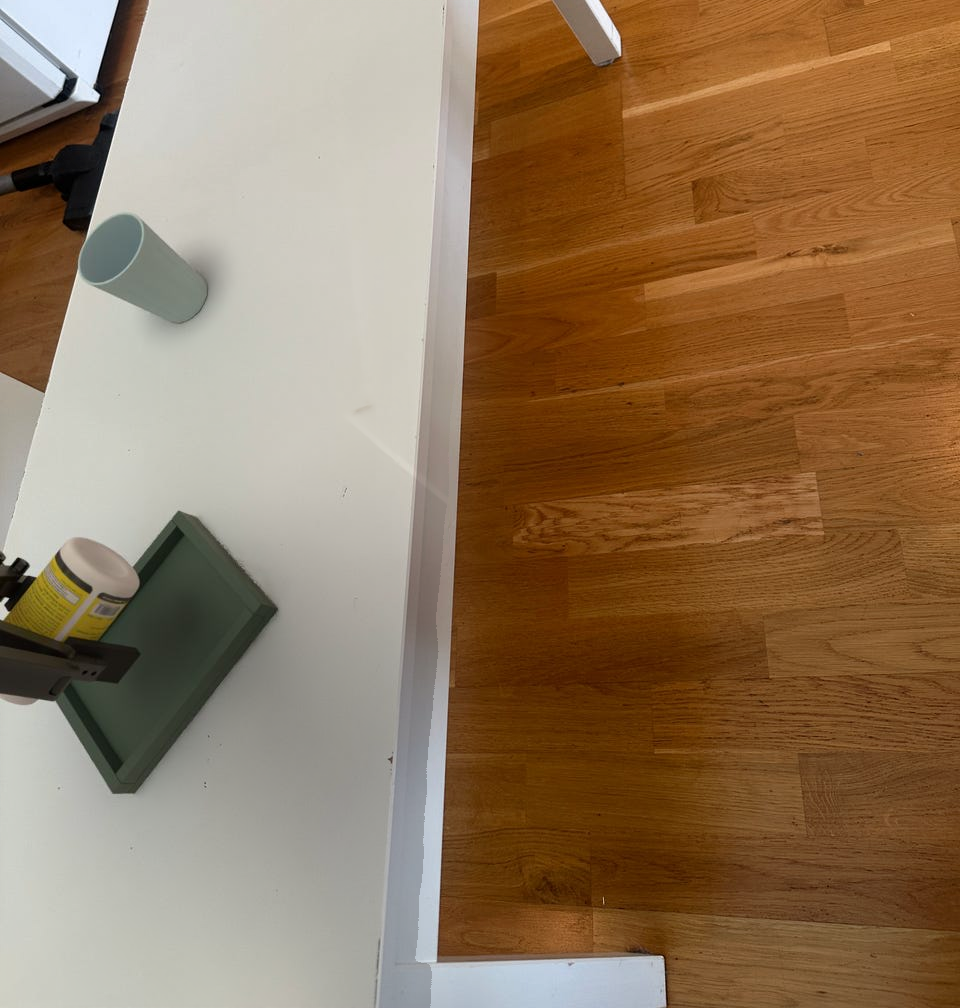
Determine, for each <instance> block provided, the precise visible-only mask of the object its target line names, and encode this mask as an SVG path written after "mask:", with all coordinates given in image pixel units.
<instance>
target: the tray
mask: <svg viewBox="0 0 960 1008" xmlns="http://www.w3.org/2000/svg"><path fill="white" fill-rule="evenodd" d="M132 567H133V569H134V570H135V571H136V573H137V575H138V578H139V587H138V589H137V591H136V592H135V594H134V595H133V596H132V598H131V599H130V600H129V601H128V603H127V604H126V605H125V606H124V608H123V609H122V610H121V611H120V613H119V614H118V615H117V617H116V618H115V619H114V620H113V622H112V623H111V624H110V625H109V627H108V628H107V629H106V631H105V632H104V633H103V634H102V636H101V637H100V638H99V639H98V641H100V642H106V643H112V644H118V645H123V646H129V647H135V648H137V649H138V651H139V652H140V654H141V655H140V656H139V657H138V659H137V660H136V661H135V662H134V664H133V665H132V666H131V667H130V669H129V670H128V671H127V673H126V674H125V675H124V676H123V678H122V679H121V680H120V681H119V683H118V684H116V683H108V682H99V681H93V682H86V681H77V680H72V681H71V682H70V683H69V685H68V686H67V687H66V688H65V690H64V691H63V692H62V693H61V695H60V696H59V697H58V698H57V700H56V701H55V703H56V704H57V706H58V707H59V709H60V711H61V713H62V714H63V716H64V718H65V719H66V721H67V723H68V724H69V726H70V727H71V729H72V731H73V732H74V734H75V736H76V737H77V739H78V740H79V742H80V744H81V745H82V747H83V748H84V750H85V752H86V754H87V755H88V756H89V758H90V760H91V761H92V763H93V765H94V766H95V768H96V769H97V771H98V773H99V774H100V776H101V777H102V779H103V781H104V783H105V784H106V786H107V787H108V789H109V790H110V792H111V794H113V795H134V794H135V793H136V792H137V791H138V789H139V788H140V787H141V786H142V785H143V783H144V782H145V780H146V779H147V778H148V777H149V775H150V774H151V773H152V771H153V770H154V769H155V768H156V767H157V765H158V764H159V762H160V761H161V760H162V758H163V757H164V756H165V755H166V753H167V752H168V751H169V749H170V748H171V747H172V746H173V744H175V742H176V741H177V739H178V738H179V737H180V735H181V734H182V733H183V732H184V730H185V729H186V728H187V727H188V725H189V724H190V722H191V721H193V719H194V717H195V716H196V715H197V713H198V712H199V711H200V710H201V709H202V707H203V706H204V705H205V704H206V702H207V701H208V700H209V698H210V697H211V696H212V694H213V693H214V692H215V691H216V689H217V688H218V687H219V686H220V684H221V683H222V681H223V680H224V679H225V678H226V677H227V675H228V674H229V673H230V672H231V670H232V669H233V667H235V665H236V663H237V662H238V661H239V660H240V658H241V657H242V656H243V655H244V653H246V651H247V650H248V649H249V647H250V646H251V644H252V643H253V642H254V641H255V639H256V638H257V637H258V636H259V634H260V633H261V632H262V631H263V629H264V628H265V626H266V625H267V624H268V622H269V621H270V620H271V619H272V617H273V616H274V615H275V613H277V612H278V610H279V608H278V607H277V606H276V604H274V602H273V601H272V600H271V599H270V598H269V597H268V596H267V594H266V593H265V592H263V590H262V589H261V588H260V587H259V585H257V583H256V582H255V581H254V580H253V579H252V578H251V577H250V575H249V574H248V573H247V572H246V571H245V569H243V568H242V566H240V564H239V563H238V562H237V561H236V560H235V559H234V557H232V556H231V554H230V553H229V552H228V551H227V550H226V549H225V547H224V546H223V545H221V543H220V542H219V541H218V540H217V539H216V537H215V536H214V535H213V534H212V533H211V532H210V531H209V530H208V529H207V527H206V526H205V525H204V524H203V523H202V521H200V519H198V518H197V517H196V516H195V515H193V514H190V513H187V512H184V511H181V510H180V509H179V510H177V511H176V512H175V514H174V515H173V516H172V517H171V519H170V520H169V521H168V523H167V524H166V525H165V526H164V527H163V528H162V530H161V531H160V532H159V534H158V535H157V536H156V537H155V539H154V540H153V541H152V542H151V543H150V545H149V546H148V547H147V548H146V550H144V552H143V554H142V555H141V556H140V557H139V558H138V560H137V561H136V563H134V565H133V566H132Z"/></svg>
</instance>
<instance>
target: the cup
mask: <svg viewBox="0 0 960 1008" xmlns="http://www.w3.org/2000/svg"><path fill="white" fill-rule="evenodd" d="M77 259H78V260H77V270H78V274H79V276H80V278H81V279H82V281H83V282H84V283H86V284H87V285H90V286H91V287H94V288H95V289H98V290H101V291H102V292H105V293H106V294H109V295H111V296H114V297H116V298H117V299H120V300H122V301H124V302H127V303H129V304H131V305H133V306H135V307H137V308H139V309H142V310H143V311H146V312H148V313H150V314H152V315H155V316H156V317H159V318H161V319H163V320H166V321H168V322H170V323H173V324H174V323H175V324H180V323H181V324H182V323H185V322H187V321H189V320H190V319H192V318H193V317H195V316H196V315H197V314H198V313H199V312H200V310H201V309H202V307H203V306H204V304H205V302H206V299H207V296H208V285H207V283H206V280H205V278H203V277H202V275H200V274H199V272H197V271H196V270H195V269H194V268H193V267H192V266H191V265H190V264H189V263H188V262H186V260H185V259H183V257H181V256H180V254H178V253H177V252H176V251H175V250H174V249H173V248H172V247H171V246H170V245H169V244H168V243H167V242H166V241H165V240H163V238H161V237H160V235H158V233H156V231H154V230H153V229H152V228H151V227H150V226H149V225H148V224H147V223H146V222H145V221H144V220H143V219H142V218H140V216H138V215H137V214H136V213H133V212H129V211H127V212H126V211H124V212H118V213H115V214H112V215H110V216H109V217H107V218H105V219H104V220H102V221H101V222H100V223H99V224H98V225H97V226H96V227H95V228H93V230H91V232H90V233H89V235H88V236H87V238H85V240H84V243H83V244H82V247H81V248H80V251H79V255H78V258H77Z"/></svg>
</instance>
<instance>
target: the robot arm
mask: <svg viewBox="0 0 960 1008" xmlns="http://www.w3.org/2000/svg"><path fill="white" fill-rule="evenodd" d="M6 560H7V556H6V555H5V553H3V552H2V551H1V550H0V603H2V602H3V601H4V600H5V598H6V599H7V601H5V603H3V607H4V608H5V610H6V611H7V612H8V613H9V612H10V611H11V610H12V609H13V607H14V606H15V605H16V604H17V602H18V601H19V600H20V599H21V597H22V596H23V595H24V594H25V592H26V591H27V590H28V589H29V587H30V586H31V585H32V584H33V582H34V581H35V580H36V578H37V577H38V576H32V575H26V572H27V571H28V570H29V569H30V567H31V564H30V563H29V562H28V561H27V560H26V559H25V558H22V557H20V556H19V557H16V558H15V559H14V560H13V562H12V563H11V564H10V565H6V564H5V563H4V562H5V561H6ZM3 620H4V619H0V694H6V695H13V696H20V697H26V698H33V699H38V700H40V701H48V702H56V700H57V698H58V697H59V696H60V695H61V693H62V692H63V691H64V690H65V688H66V687H67V686H68V685H69V683H70V682H71V681H72V680H77V681H86V682H93V681H99V682H108V683H116V684H118V683H119V681H120V680H121V679H122V678H123V676H124V675H125V674H126V673H127V671H128V670H129V669H130V667H131V666H132V665H133V664H134V662H135V661H136V660H137V659H138V657H139V656H140V655H141V654H140V652H139V651H138V649H137V648H135V647H129V646H123V645H118V644H112V643H106V642H100V641H94V640H88V639H83V638H77V637H71V636H68V638H67V639H66V640H65V641H64V643H63V642H60V641H57V640H55V639H52V638H49V637H46V636H44V635H41V634H38V633H36V632H33V631H30V630H27V629H25V628H22V627H19V626H17V625H14V624H11V623H8V622H6V621H3Z"/></svg>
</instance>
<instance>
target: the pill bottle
mask: <svg viewBox="0 0 960 1008" xmlns="http://www.w3.org/2000/svg"><path fill="white" fill-rule="evenodd" d="M36 577H37V578H36V580H35V581H34V582H33V584H32V585H31V586H30V587H29V589H28V590H27V591H26V592H25V594H24V595H23V596H22V597H21V599H20V600H19V601H18V602H17V604H16V605H15V606H14V607H13V609H12V610H11V611H10V612H8V614H6V616H5V618H4V619H2V620H3V621H6V622H8V623H11V624H14V625H17V626H19V627H22V628H25V629H27V630H30V631H33V632H36V633H38V634H41V635H44V636H46V637H49V638H52V639H55V640H57V641H60V642H63V643H64V641H65V640H66V639H67V638H68V636H71V637H77V638H83V639H88V640H94V641H98V639H99V638H100V637H101V636H102V634H103V633H104V632H105V631H106V629H107V628H108V627H109V625H110V624H111V623H112V622H113V620H114V619H115V618H116V617H117V615H118V614H119V613H120V611H121V610H122V609H123V608H124V606H125V605H126V604H127V603H128V601H129V600H130V599H131V598H132V596H133V595H134V594H135V592H136V591H137V589H138V587H139V578H138V575H137V573H136V571H135V570H134V569H133V566H132V565H131V564H130V563H129V561H127V560H126V558H125V557H123V556H122V555H121V554H119V553H118V552H116V551H115V550H114V549H112V548H110V547H108V546H107V545H104V544H103V543H101V542H99V541H96V540H93V539H90V538H87V537H81V536H76V537H75V536H74V537H71V538H69V539H68V540H66V542H65V543H64V544H63V545H62V546H61V547H60V548H59V549H58V550H57V552H56V553H55V554H54V555H53V557H51V559H50V561H49V562H48V564H47V565H46V566H45V567H44V568H43V569H42V570H41V572H40V573H39V574H38V575H37V576H36ZM0 699H1V700H3V701H5V702H7V703H10V704H13V705H16V706H17V705H19V706H30V705H33V704H35V703H37V701H39V699H33V698H26V697H20V696H13V695H6V694H0Z"/></svg>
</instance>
